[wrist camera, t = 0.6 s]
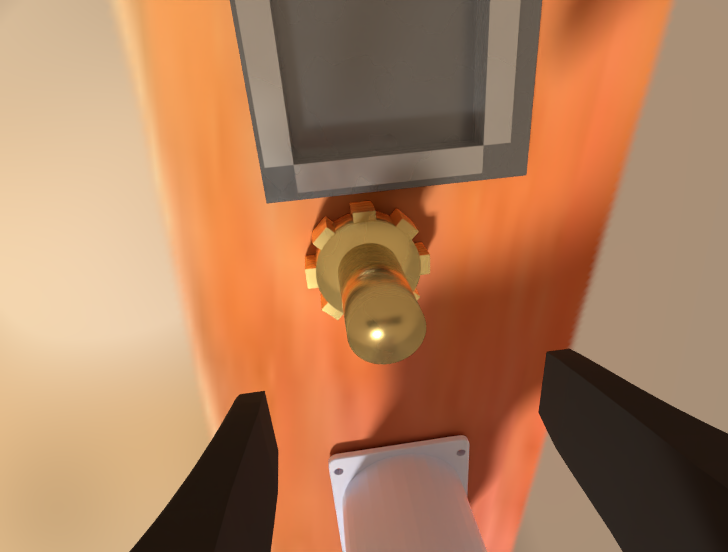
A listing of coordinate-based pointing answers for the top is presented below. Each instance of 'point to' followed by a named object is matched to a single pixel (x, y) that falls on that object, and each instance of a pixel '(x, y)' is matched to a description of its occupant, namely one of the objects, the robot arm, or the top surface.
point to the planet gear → (371, 280)
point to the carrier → (387, 92)
